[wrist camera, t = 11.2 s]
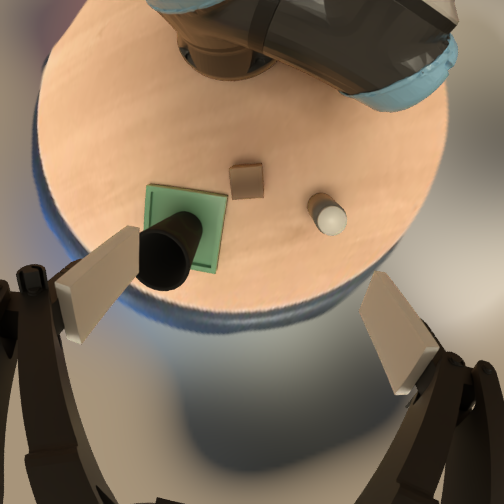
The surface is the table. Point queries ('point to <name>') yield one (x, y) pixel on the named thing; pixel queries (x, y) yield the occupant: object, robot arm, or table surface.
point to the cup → (168, 251)
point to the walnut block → (246, 181)
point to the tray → (200, 204)
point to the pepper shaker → (327, 214)
